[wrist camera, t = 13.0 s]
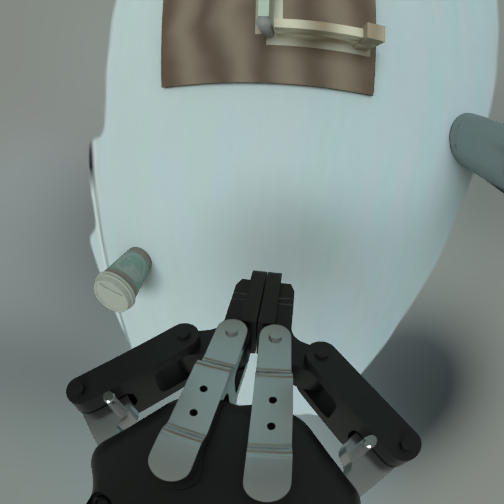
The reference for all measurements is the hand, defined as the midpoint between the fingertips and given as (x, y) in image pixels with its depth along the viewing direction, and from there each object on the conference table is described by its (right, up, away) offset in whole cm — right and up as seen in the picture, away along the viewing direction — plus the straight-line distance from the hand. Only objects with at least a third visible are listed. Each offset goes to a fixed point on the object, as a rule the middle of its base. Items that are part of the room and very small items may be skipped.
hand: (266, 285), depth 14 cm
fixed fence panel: (+9, +30, +12) cm, 33 cm away
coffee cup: (-24, 0, +39) cm, 46 cm away
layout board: (+1, +36, +11) cm, 38 cm away
